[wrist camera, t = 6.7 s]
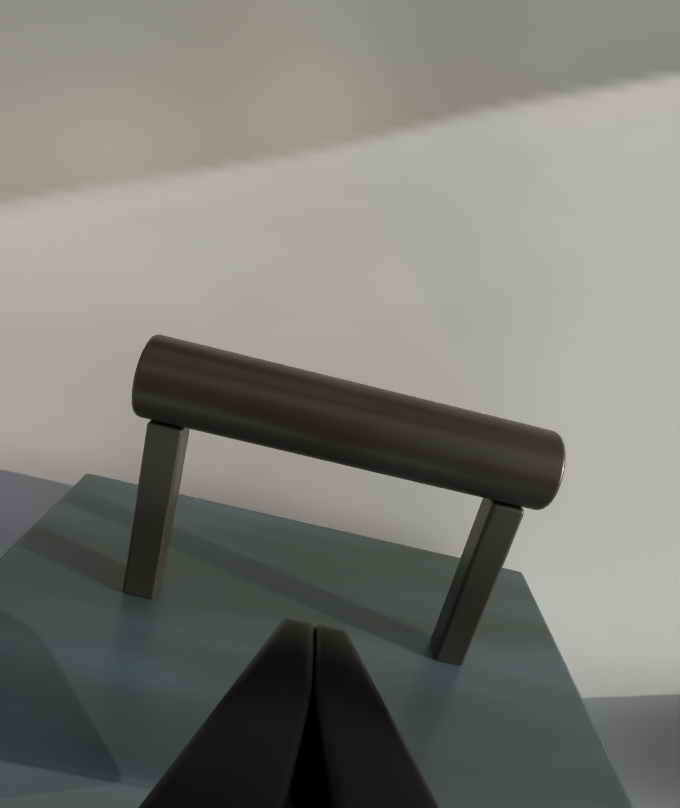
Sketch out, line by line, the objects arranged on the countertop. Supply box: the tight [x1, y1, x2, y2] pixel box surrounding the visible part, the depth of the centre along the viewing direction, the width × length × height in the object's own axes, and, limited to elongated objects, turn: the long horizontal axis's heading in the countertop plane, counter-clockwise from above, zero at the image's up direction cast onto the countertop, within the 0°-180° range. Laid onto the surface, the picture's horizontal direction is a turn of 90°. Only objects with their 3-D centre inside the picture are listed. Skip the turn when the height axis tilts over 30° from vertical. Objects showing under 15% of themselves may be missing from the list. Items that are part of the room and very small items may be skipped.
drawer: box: [0, 335, 634, 808], centre depth 12 cm, size 18×11×7 cm, turn 166°
